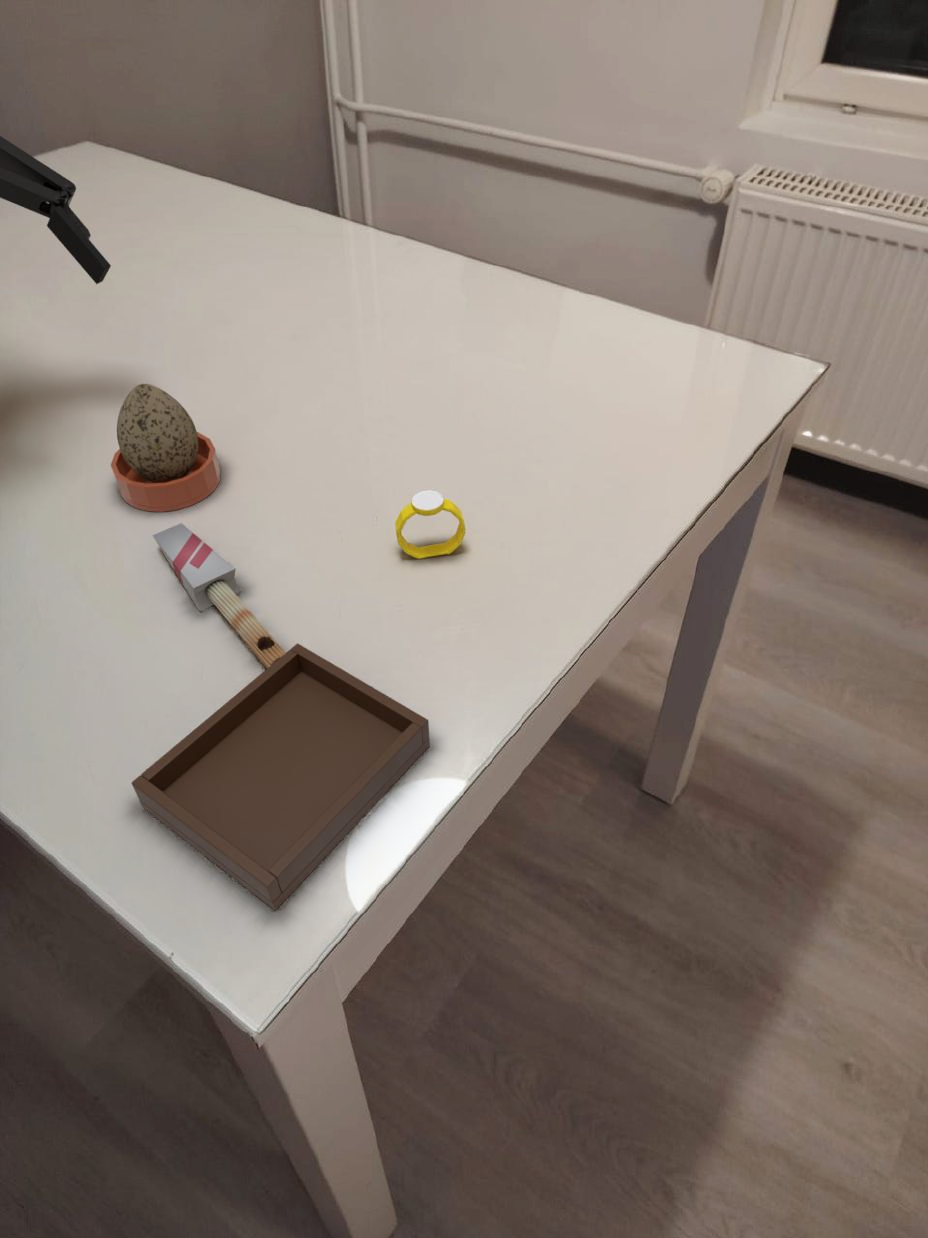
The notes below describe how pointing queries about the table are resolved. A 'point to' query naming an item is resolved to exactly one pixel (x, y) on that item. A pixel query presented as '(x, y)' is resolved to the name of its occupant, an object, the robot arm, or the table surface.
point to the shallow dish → (170, 482)
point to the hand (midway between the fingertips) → (47, 303)
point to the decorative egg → (156, 435)
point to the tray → (283, 771)
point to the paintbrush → (215, 587)
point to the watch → (427, 506)
